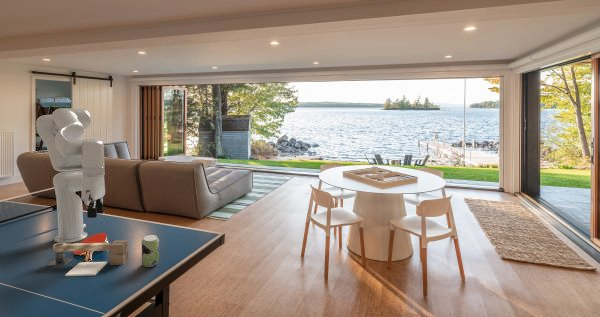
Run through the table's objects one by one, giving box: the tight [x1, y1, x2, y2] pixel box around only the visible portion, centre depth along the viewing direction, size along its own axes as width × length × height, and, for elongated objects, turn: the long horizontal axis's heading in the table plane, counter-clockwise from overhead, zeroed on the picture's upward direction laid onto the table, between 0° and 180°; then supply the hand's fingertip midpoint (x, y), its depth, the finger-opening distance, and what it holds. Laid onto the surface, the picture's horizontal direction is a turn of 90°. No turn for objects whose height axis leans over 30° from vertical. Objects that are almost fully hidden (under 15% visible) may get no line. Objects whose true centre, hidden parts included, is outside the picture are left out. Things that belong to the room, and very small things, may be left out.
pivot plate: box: [46, 257, 73, 267], centre depth 128 cm, size 6×6×1 cm
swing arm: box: [52, 242, 111, 262], centre depth 128 cm, size 20×4×6 cm, turn 98°
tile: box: [64, 261, 108, 277], centre depth 123 cm, size 10×10×1 cm
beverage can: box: [141, 234, 160, 268], centre depth 127 cm, size 6×7×12 cm
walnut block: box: [108, 239, 129, 266], centre depth 129 cm, size 5×5×8 cm
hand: (95, 214), depth 133 cm, fingers open, 4 cm apart
